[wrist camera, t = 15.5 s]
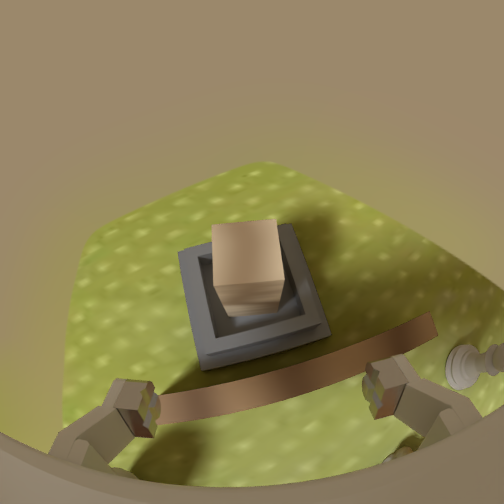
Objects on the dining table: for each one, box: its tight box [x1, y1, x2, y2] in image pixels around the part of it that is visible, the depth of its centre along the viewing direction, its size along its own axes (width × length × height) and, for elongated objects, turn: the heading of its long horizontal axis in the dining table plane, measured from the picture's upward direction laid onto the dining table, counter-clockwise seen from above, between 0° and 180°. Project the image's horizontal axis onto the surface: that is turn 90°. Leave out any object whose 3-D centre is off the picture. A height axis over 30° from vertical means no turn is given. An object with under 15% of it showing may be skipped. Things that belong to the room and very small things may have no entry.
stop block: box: [212, 219, 285, 317], centre depth 20 cm, size 4×4×8 cm
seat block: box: [178, 224, 332, 371], centre depth 23 cm, size 11×11×3 cm
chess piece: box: [445, 343, 504, 390], centre depth 17 cm, size 5×5×8 cm
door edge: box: [155, 311, 438, 425], centre depth 19 cm, size 22×2×6 cm, turn 105°
